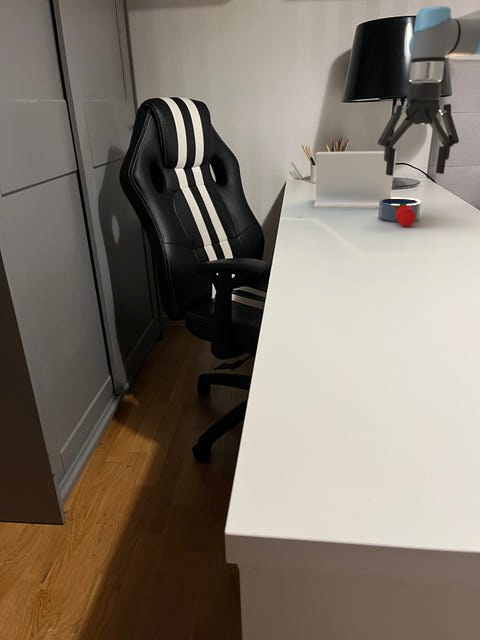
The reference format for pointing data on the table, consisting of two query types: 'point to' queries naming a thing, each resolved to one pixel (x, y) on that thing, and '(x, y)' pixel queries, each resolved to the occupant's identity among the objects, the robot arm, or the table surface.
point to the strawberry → (405, 215)
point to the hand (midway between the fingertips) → (414, 174)
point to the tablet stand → (352, 179)
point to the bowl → (390, 204)
